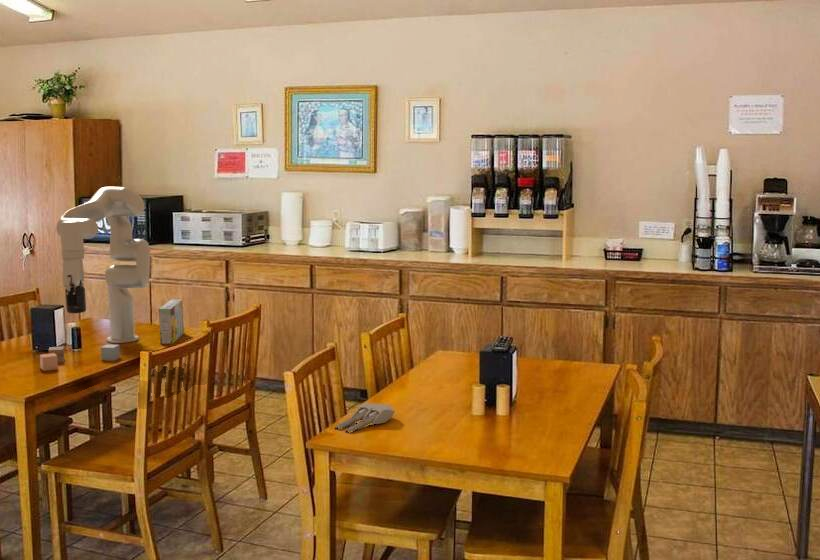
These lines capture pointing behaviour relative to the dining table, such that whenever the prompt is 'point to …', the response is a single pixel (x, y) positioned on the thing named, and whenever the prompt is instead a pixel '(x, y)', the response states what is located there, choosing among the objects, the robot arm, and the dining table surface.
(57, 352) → the walnut block
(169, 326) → the snack box
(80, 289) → the supplement bottle
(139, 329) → the dining table surface
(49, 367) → the terracotta block
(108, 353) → the slate block
